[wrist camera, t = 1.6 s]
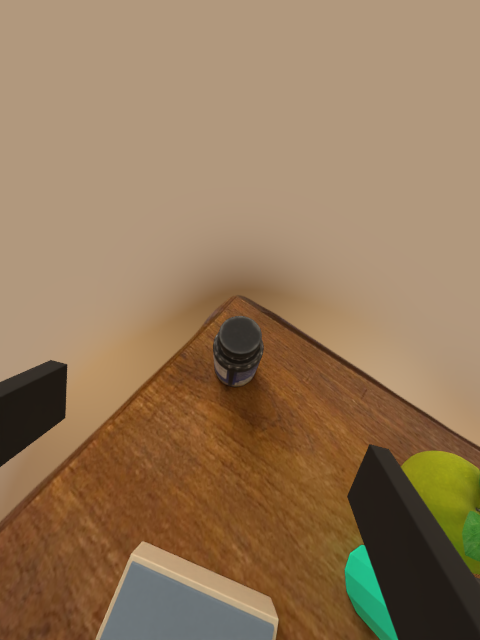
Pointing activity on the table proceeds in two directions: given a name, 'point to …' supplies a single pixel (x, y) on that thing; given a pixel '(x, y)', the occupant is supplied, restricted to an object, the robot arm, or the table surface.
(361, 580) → the candle
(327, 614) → the table surface
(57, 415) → the robot arm
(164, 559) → the blue topped tan slab
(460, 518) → the fruit
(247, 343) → the pill bottle
